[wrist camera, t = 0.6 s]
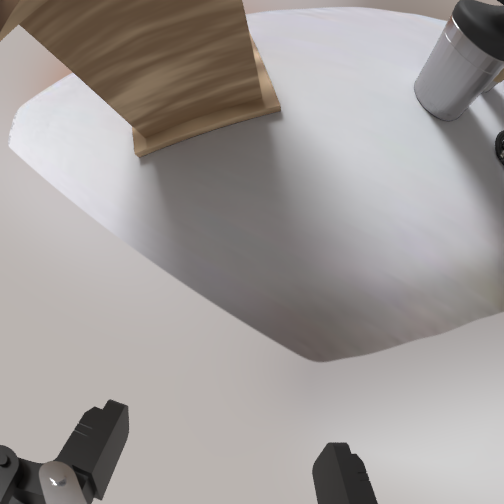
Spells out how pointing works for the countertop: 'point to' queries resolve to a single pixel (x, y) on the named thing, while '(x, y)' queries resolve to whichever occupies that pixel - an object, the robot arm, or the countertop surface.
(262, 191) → the countertop surface
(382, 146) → the countertop surface
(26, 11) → the oak lectern
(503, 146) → the milk frother
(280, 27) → the countertop surface
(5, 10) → the walnut bar
